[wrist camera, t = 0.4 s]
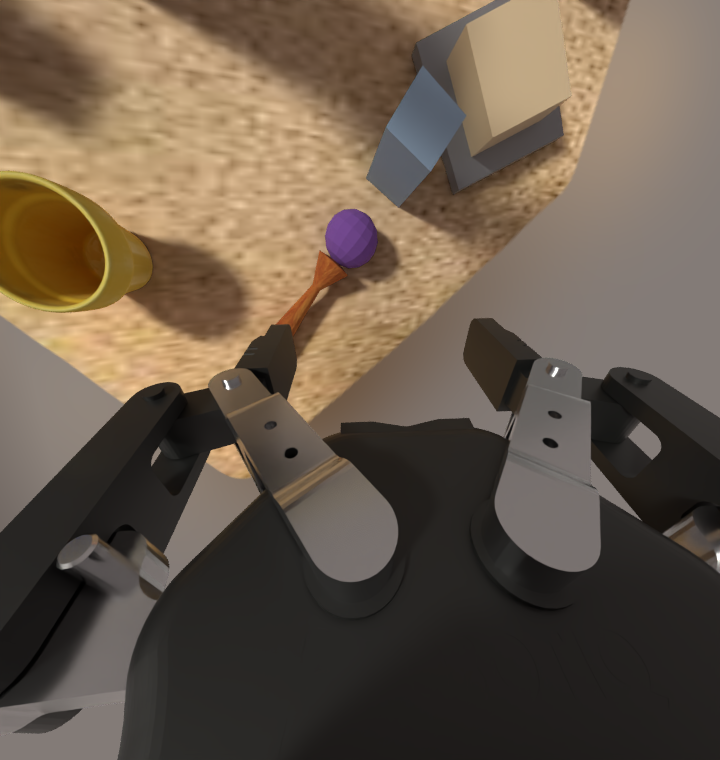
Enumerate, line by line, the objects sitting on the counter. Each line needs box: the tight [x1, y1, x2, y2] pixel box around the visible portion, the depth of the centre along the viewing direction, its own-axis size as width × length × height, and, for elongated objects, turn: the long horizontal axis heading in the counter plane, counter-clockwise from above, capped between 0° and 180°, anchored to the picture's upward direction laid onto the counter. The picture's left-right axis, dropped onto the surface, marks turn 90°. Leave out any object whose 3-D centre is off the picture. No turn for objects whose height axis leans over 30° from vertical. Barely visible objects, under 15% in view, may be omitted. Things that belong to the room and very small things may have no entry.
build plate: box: [412, 0, 572, 195], centre depth 28 cm, size 14×14×6 cm
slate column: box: [366, 66, 466, 208], centre depth 27 cm, size 5×5×10 cm
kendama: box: [276, 209, 378, 336], centre depth 32 cm, size 6×6×20 cm
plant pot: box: [0, 171, 153, 313], centre depth 25 cm, size 10×10×10 cm
